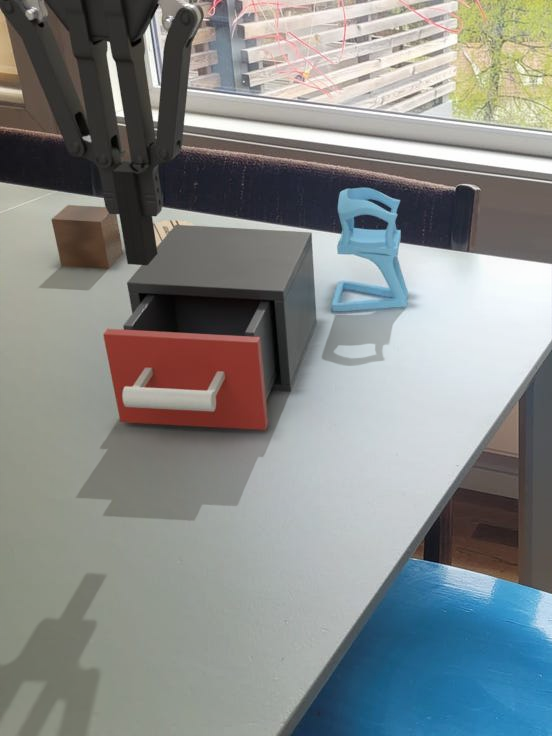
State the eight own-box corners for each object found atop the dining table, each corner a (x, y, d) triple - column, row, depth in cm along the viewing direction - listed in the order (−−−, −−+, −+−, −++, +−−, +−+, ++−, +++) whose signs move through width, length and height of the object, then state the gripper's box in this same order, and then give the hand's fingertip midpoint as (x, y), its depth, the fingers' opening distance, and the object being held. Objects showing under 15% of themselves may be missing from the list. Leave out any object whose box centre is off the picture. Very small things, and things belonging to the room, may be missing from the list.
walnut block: (61, 268, 117) (51, 219, 113) (77, 253, 121) (67, 204, 117) (109, 271, 117) (100, 221, 113) (123, 255, 121) (115, 207, 117)
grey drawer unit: (291, 394, 94) (283, 291, 88) (144, 386, 94) (126, 282, 88) (316, 326, 107) (311, 232, 101) (188, 319, 107) (175, 224, 101)
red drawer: (252, 462, 82) (243, 372, 77) (99, 454, 81) (79, 363, 76) (295, 356, 98) (289, 276, 93) (167, 349, 98) (154, 269, 93)
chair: (406, 316, 110) (406, 203, 103) (331, 313, 110) (325, 199, 102) (409, 291, 116) (410, 182, 109) (338, 288, 116) (333, 178, 108)
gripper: (-55, -141, 57) (38, 270, 72) (170, -126, 58) (217, 281, 72) (-3, -144, 63) (73, 237, 78) (202, -130, 63) (239, 248, 78)
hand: (142, 258), depth 75 cm, fingers closed
